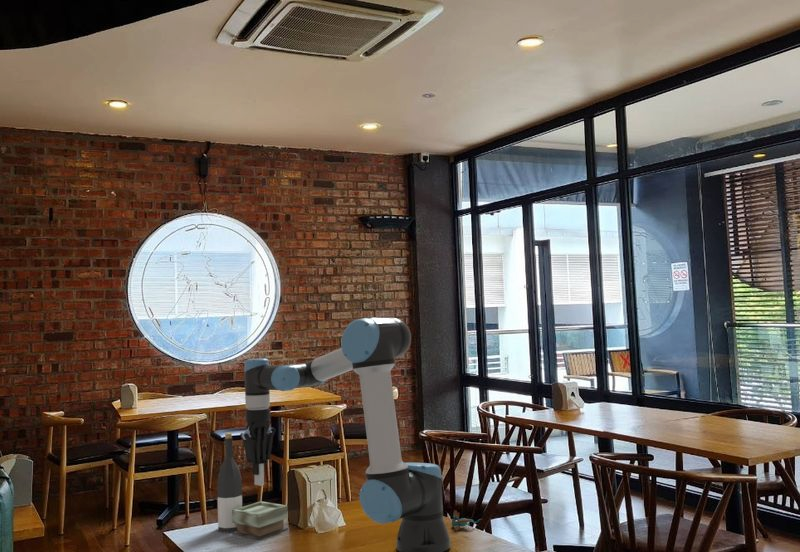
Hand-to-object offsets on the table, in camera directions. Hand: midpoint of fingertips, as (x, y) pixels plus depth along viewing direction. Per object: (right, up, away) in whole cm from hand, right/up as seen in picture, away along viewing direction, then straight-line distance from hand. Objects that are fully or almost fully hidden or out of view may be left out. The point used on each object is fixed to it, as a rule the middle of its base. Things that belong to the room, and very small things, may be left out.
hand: (259, 484), depth 229 cm
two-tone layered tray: (+1, -14, -1) cm, 14 cm away
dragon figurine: (+68, -11, -4) cm, 69 cm away
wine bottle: (-10, -15, +3) cm, 18 cm away
